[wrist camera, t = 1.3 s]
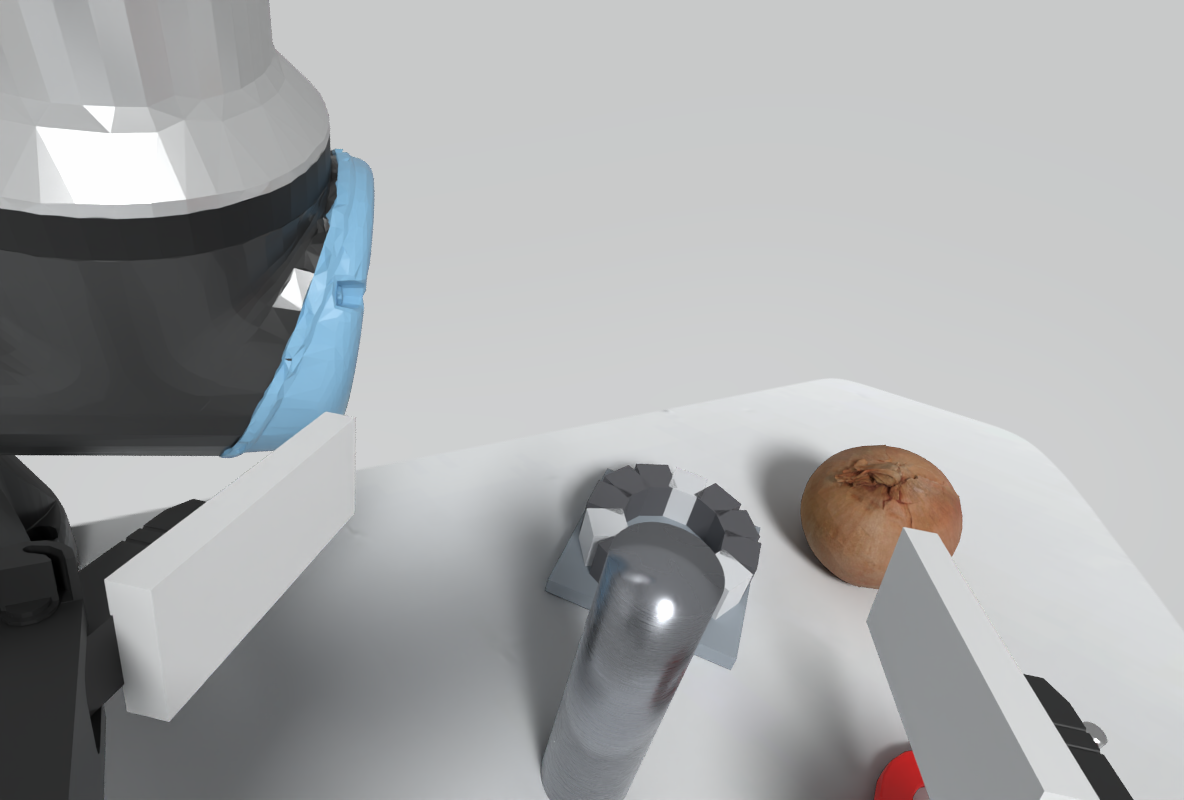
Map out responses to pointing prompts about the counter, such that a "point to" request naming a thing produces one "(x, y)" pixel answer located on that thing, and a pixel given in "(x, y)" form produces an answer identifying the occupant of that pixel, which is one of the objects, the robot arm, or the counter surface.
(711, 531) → the chuck
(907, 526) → the onion
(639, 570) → the steel rod
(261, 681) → the counter surface
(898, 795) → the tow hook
